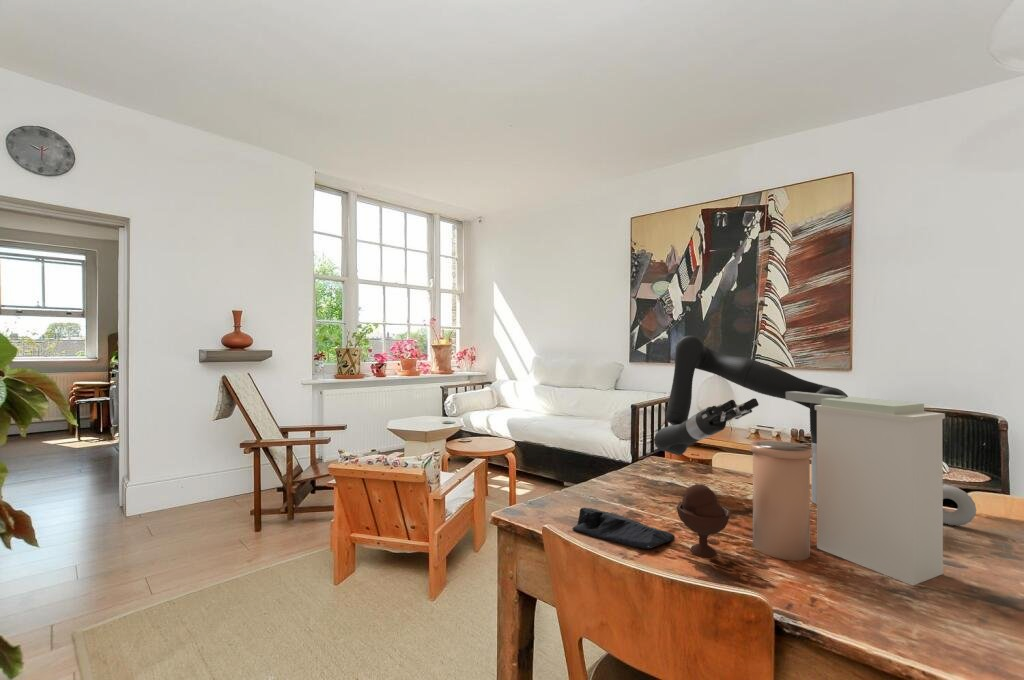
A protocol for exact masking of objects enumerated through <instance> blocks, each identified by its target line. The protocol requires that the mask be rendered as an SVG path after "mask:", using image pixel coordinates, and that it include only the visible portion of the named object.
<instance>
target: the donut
mask: <svg viewBox="0 0 1024 680" xmlns="http://www.w3.org/2000/svg"><path fill="white" fill-rule="evenodd" d="M945 499H949V500H952V501H954V502H955V503H956V505H957V509H956V510H954V511H949V510H946V509H945V508H943V525H944V524H945V525H947V524H948V526H953V525H956V527H958V526H965V525H967V524H968V523H971V522H972V521H973V520H974V519H975V517H976V514H977V507H976V502H975V501H974V500H973V498H972V496H970V495H969V494H968V493H967V492H966V491H964V490H962V489H961V488H958V486H957V487H956V486H953V485H950V484H949V485H948V484H943V500H945Z"/></svg>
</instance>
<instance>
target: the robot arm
mask: <svg viewBox="0 0 1024 680" xmlns="http://www.w3.org/2000/svg"><path fill="white" fill-rule="evenodd" d="M674 359H675V360H674V361H675V362H674V371H673V372H674V373H673V379H672V384H671V389H670V395H669V399H668V402H667V403H668V404H667V407H666V412H665V418H664V420H665V421H666V422H667V423H668V424H670V426H669V425H668V426H665V427H663V428H661V429H659V430H658V431H657V432H656V434H655V435H654V438H653V442H654V446H655V447H656V448H657V449H659V450H660V451H663V452H666V453H669V454H673V455H675V456H681V455H683V454H684V453H685V452H686V451H687V450H688V446H690V445H693V444H696V443H697V442H699V441H701V440H704V439H707V438H709V437H711V436H713V435H716V434H717V433H719V432H722V431H724V430H725V428H726V425H727V422H731V421H732V420H734V419H735V420H739V419H741V418H742V417H745V416H747V415H749V414H751V413H753V409H755V408H757V407H758V406H759V405H760V403H759V402H758V400H757V398H756V397H755V398H752V399H749V400H748V401H745V402H743V403H741V404H736V401H735V399H730V400H728V401H727V402H725V403H723V404H719V405H712V406H707V407H706V408H704V409H702V410H701V411H699V412H697V413H695V414H694V415H692V416H690V417H689V414H690V411H691V407H692V406H691V405H692V398H693V397H692V396H693V380H694V374H695V370H700V371H704V372H706V373H710V374H713V375H717V376H718V377H721V378H723V379H725V380H727V381H728V382H731V383H734V384H735V385H738V386H740V387H743V388H745V389H747V390H750V391H753V392H756V393H758V394H762V395H765V396H769V397H773V398H778V399H783V400H786V392H791V391H798V392H808V393H819V394H829V395H839V396H846V397H849V396H848V395H847V393H846V392H845V391H843V390H841V389H840V388H836V387H831V386H829V385H825V384H824V385H823V384H819V383H816V382H812V381H808V380H806V379H802V378H800V377H797V376H795V375H793V374H791V373H788V372H786V371H784V370H782V369H779V368H777V367H774V366H772V365H770V364H767V363H764V362H761V361H759V360H755V359H751V358H747V357H743V356H735V355H734V356H733V355H727V354H723V353H720V352H719V351H716V350H713V349H712V348H709V347H708V346H706V345H704V343H703V342H702V340H701V339H700V338H699V337H697V336H694V335H685V336H683V337H681V338H680V339H679V340H678V341H677V343H676V345H675V358H674ZM790 401H791V400H789V402H790ZM791 402H795V403H796V404H799V405H801V406H803V407H805V408H808V409H809V431H810V438H811V439H810V440H811V441H810V442H811V448H812V457H811V458H810V460H811V461H810V463H811V466H810V467H811V468H810V469H811V470H810V473H811V487H810V488H811V489H810V490H811V492H810V493H811V494H810V496H811V497H810V498H811V503H812V504H813V505H816V506H817V410H815V405H821V404H817V403H808V402H800V401H791Z"/></svg>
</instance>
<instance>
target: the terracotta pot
mask: <svg viewBox="0 0 1024 680" xmlns="http://www.w3.org/2000/svg"><path fill="white" fill-rule="evenodd" d="M749 445H750V449H749V450H750V451H751V452H752V546H753V548H754V549H755V550H757V551H758V552H760V553H762V554H763V555H766V556H769V557H772V558H776V559H779V560H785V561H805V560H807V559H809V558H810V556H811V545H810V543H811V541H810V540H811V539H810V537H811V533H810V531H811V527H810V526H811V525H810V524H811V523H810V522H811V520H810V519H811V518H810V517H811V512H810V511H811V510H810V509H811V508H810V507H811V506H810V505H811V501H810V500H811V497H810V496H811V494H810V493H811V492H810V490H811V489H810V488H811V487H810V485H811V483H810V474H811V470H810V469H811V468H810V467H811V466H810V463H811V461H810V460H811V457H812V448H811V447H810V446H809V445H806V444H801V443H797V442H790V441H782V440H781V441H780V440H765V439H764V440H755V441H751V442H750V444H749Z"/></svg>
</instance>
